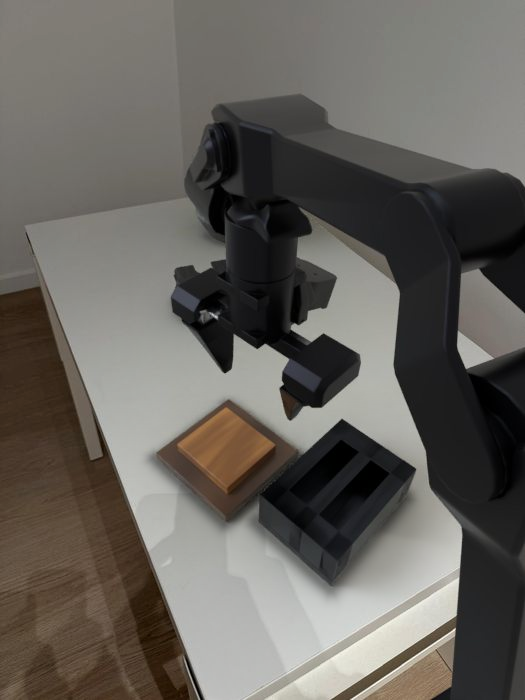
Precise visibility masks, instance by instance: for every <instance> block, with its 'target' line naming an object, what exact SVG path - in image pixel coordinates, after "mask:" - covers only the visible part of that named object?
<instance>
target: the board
mask: <svg viewBox="0 0 525 700" xmlns="http://www.w3.org/2000/svg"><path fill="white" fill-rule="evenodd" d="M226 407H227V408H228V409H229V410H231V411H232V412H233V413H235V414H236V415H237V416H238V417H240V418H241V419H242V420H244V421H245V422H246V423H248V424H249V425H250V426H252V427H253V428H254V429H256V430H257V431H258V432H259V433H261V434H262V435H263V436H265V437H266V438H267V439H269V440H270V441H271V442H273V443H274V444H275V445H276V452H275V453H274V454H273V455H272V456H270V457H269V458H268V459H267V460H266V461H265V462H264V463H263V464H261V465H260V466H259V467H258V468H257V469H256V470H255V471H254V472H252V473H251V474H250V475H249V476H248V477H247V478H246V479H244V480H243V481H242V482H241V483H240V484H239V485H238V486H237V487H235V488H234V489H233V490H232V491H231V492H230V493H229V494H227V493H226V492H224V491H223V490H222V489H221V488H220V487H219V486H218V485H216V484H215V483H214V482H213V481H212V480H211V479H210V478H208V477H207V476H206V475H205V474H204V473H203V472H202V471H201V470H199V469H198V468H197V467H196V466H195V465H194V464H193V463H191V462H190V461H189V460H188V459H187V458H186V457H185V456H184V455H182V454H181V453H180V452H179V451H178V445H177V444H178V443H179V442H181V441H182V440H183V439H185V438H186V437H187V436H189V435H190V434H191V433H193V432H194V431H195V430H197V429H198V428H199V427H201V426H202V425H203V424H205V423H206V422H207V421H209V420H210V419H211V418H213V417H214V416H215V415H217V414H218V413H219V412H220V411H222V410H223V409H224V408H226ZM155 454H156V459H157V460H158V461H159V462H160V463H161V464H162V465H163V466H164V467H166V468H167V469H168V470H169V471H170V472H171V473H172V475H174V476H175V477H176V478H177V479H178V480H179V481H180V482H181V483H183V484H184V485H185V486H186V487H187V488H188V489H189V490H190V491H191V492H193V494H195V495H196V497H198V498H199V499H200V500H201V501H202V502H203V503H204V504H205V505H206V506H208V507H209V508H210V510H212V511H213V512H214V513H215V514H216V515H217V516H218V517H219V518H221V519H222V520H223V521H224V522H225V523H228V521H229V520H231V518H233V517H234V516H235V515H236V514H237V513H238V512H239V511H240V510H241V509H243V507H244V506H245V505H247V504H248V503H249V502H250V501H251V500H252V499H253V498H254V497H256V495H257V494H259V493H260V492H261V491H262V490H263V489H264V488H265V487H266V486H267V485H268V484H269V483H271V482H273V481H274V479H275V478H277V476H279V474H280V473H282V472H283V471H285V470H286V469H287V467H288V466H289V465H290V464H292V462H294V460H296V459H298V456H299V455H298V454H299V450H298V449H296V448H295V447H294V446H292V445H291V444H289V443H288V442H287V441H285V440H284V439H283V438H281V437H280V436H279V435H278V434H277V433H275V432H274V431H272V430H271V429H269V428H268V427H267V426H265V425H264V424H263V423H261V422H260V421H258V420H257V419H256V418H255V417H254V416H252V415H250V414H249V413H248V412H247V411H246V410H244V409H243V408H242V407H240V406H239V405H237V404H236V403H234V402H233V401H232V400H231V399H226V400H225V401H223V402H222V403H221V404H220V405H219V406H217V407H216V408H214V409H213V410H212V411H210V412H209V413H208V414H206V415H205V416H204V417H202V418H201V419H199V420H198V421H196V422H195V423H194V424H193V425H191V426H190V427H189V428H187V429H186V430H184V431H183V432H182V433H181V434H179V435H178V436H177V437H175V438H174V439H173V440H171V441H170V442H169V443H167V444H165V446H163V447H162V448H160V449H159V450H158V451H156V452H155Z"/></svg>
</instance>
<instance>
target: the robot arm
mask: <svg viewBox="0 0 525 700" xmlns="http://www.w3.org/2000/svg"><path fill="white" fill-rule="evenodd" d="M210 113H211V117H212V120H213V122H211V123H207V124H205V126H204V128H203V132H202V136H201V138H200V143H199V146H198V147H197V149H198V152H197V154H196V156H195V158H194V160H193V162H192V161H191V163H190V164H189V166H188V169H187V171H186V174H185V178H184V179H183V184H184V185H183V186H184V191H185V193H186V196H187V198H188V199H189V201H190V202H191V203H192V204H193V206H194V207H196V208H197V209H198V211H199V212H200V213H201V214H202V216H203V217H204V218H205V219H206V221H207V222H208V223H209V225H210V226H211V227H212V228H213V230H214V231H215V232H216V233H219V234H221V235H224V236H225V242H224V245H225V259H226V271H224V272H222V273H220V272H218V271H217V270H215V269H213V268H212V267H209V268H208V269H206V270H203V271H202V272H199V273H200V274H198V275H196V276H194V277H192V278H190V279H189V280H187V281H185V282H183V283H181V284H179V285H177V286H176V285H175V287H176V288H175V287H174V289H173V291H172V293H171V295H170V301H171V302H170V303H171V310H172V313H173V314H174V315H176V316H177V317H179V318H180V319H181V323H182V324H183V326H185V327H186V328H187V329H188V330H189V332H191V333H192V335H193V336H194V337H195V339H196V340H197V341H198V342H199V343H200V345H201V346H202V347H203V348H204V350H205V351H206V352H207V354H208V356H210V358H211V360H212V361H213V362H214V363H215V365H216V366H217V367H218V368H219V370H220V372H222V373H223V374H227V373H229V372H230V371H231V370H232V369H233V363H234V347H235V346H234V343H235V341H234V339H235V336H236V337H237V338H239V339H240V340H242V341H244V342H245V343H246V344H248V345H250V346H251V347H253V348H254V349H256V350H259V349H260V348H262V347H263V346H264V345H265V346H268V347H269V348H271V349H272V350H274V351H276V352H277V353H279V354H280V355H282V356H283V357H285V358H286V359H288V361H287V363H286V365H285V366H284V368H283V369H282V371H281V382H282V385H281V386H279V388H278V389H279V394H280V398H281V402H282V403H281V404H282V407H283V411H284V414H285V416H286V419H287V420H288V421H290V422H291V421H293V420H294V419H296V418H297V416H298V415H299V414H300V412H301V411H302V409H304V407H310V408H311V409H323V408H324V407H325V406H326V405H327V404H328V403H329V402H330V401H332V399H334V398H335V397H336V396H338V394H340V393H341V392H342V391H343V390H344V389H346V388H347V386H349V385H350V384H351V383H352V382H353V381H354V380H356V379H357V378H358V377H359V375H360V369H361V365H362V360H361V354H360V353H358V352H357V351H355V350H354V349H352V348H350V347H348V345H347V346H346V345H345V344H344V343H341V342H340V341H338V340H336V339H335V338H333V337H331V336H329V335H328V334H326V333H321V334H320V335H319V336H317V337H316V338H315V339H314V340H312V341H311V340H309V339H308V338H306V337H305V336H303V335H301V334H299V333H298V332H296V331H294V330H293V329H292V326H293V325H296V326H300V325H302V324H303V323H305V322H306V321H308V316H309V312H310V311H314V310H319V309H322V310H325V309H327V308H328V306H329V303H330V300H331V297H332V295H333V291H334V288H335V286H336V283H337V280H338V276H337V275H336V274H334V273H333V272H330V271H328V270H326V269H324V268H322V267H320V266H318V265H317V264H315V263H312V262H310V261H308V260H305V259H302V258H300V257H298V246H299V245H298V244H299V238H302V237H306V236H310V235H311V234H312V233H313V227H312V224H311V221H310V219H309V217H308V216H307V215H306V214H305V213H304V212H303V211H302V210H304V211H305V212H307V213H309V214H310V215H313V216H314V217H315V218H317V219H319V220H321V221H323V222H324V223H326V224H328V225H330V226H332V227H333V228H335V229H336V230H339V231H340V232H342V233H344V234H345V235H347V236H349V237H350V238H352V239H354V240H356V241H357V242H359V243H362V244H363V245H364V246H366V247H368V248H370V249H371V250H373V251H374V252H377V253H378V254H380V255H382V256H384V257H385V260H386V262H387V265H388V267H389V270H390V272H391V275H392V277H393V280H394V282H395V284H396V286H397V289H398V292H399V300H398V309H397V319H396V332H395V341H394V342H395V344H394V352H393V353H394V354H393V364H392V365H393V371H394V376H395V378H396V380H397V383H398V385H399V388H400V391H401V393H402V395H403V398H404V401H405V403H406V406H407V409H408V411H409V412H410V416H411V418H412V421H413V423H414V426H415V428H416V431H417V434H418V436H419V438H420V441H421V443H422V446H423V449H424V451H425V458H426V468H427V477H428V485H429V489H430V491H432V493H433V494H434V495H435V496H436V497H437V499H438V500H439V502H440V503H441V504H443V506H444V507H445V508H446V509H447V510H448V512H449V513H450V514H451V516H452V517H453V518H454V519H455V521H456V522H457V523H458V524H459V525H460V527H461V548H460V562H459V577H458V591H457V602H456V603H457V604H456V618H455V629H454V630H455V631H454V644H453V656H452V657H453V658H452V669H451V670H452V671H451V672H452V673H451V685H450V686H449V687H448V688H446V689H445V690H443V691H442V692H439V693H438V694H437V695H435V696H433V697H432V698H430V699H429V700H525V346H524V347H521V348H518V349H516V350H513V351H511V352H508V353H505V354H503V355H500V356H498V357H494V358H492V359H489V360H487V361H483V362H480V363H478V364H475V365H473V366H470V367H467V368H466V366H465V363H464V361H463V359H462V356H461V354H460V352H459V348H458V341H459V340H458V338H459V335H458V334H459V320H460V301H461V286H462V285H461V283H462V274H466V273H469V272H472V271H476V270H479V271H480V272H481V274H482V275H483V277H485V279H487V280H488V281H489V282H490V283H491V284H492V285H493V286H494V287H495V288H497V289H498V290H499V291H500V292H501V293H502V295H504V296H505V297H506V298H507V299H508V300H510V302H511V303H513V304H514V305H515V306H516V307H517V308H518V309H519V310H520V311H521V312H522V313H523V314H525V185H524V183H523V182H522V180H521V179H519V178H517V177H516V176H514V175H512V174H511V173H509V172H502V171H500V170H498V169H496V168H491V167H485V168H471V167H467V166H465V165H461V164H457V163H454V162H450V161H447V160H443V159H441V158H437V157H433V156H430V155H427V154H423V153H421V152H417V151H413V150H411V149H407V148H403V147H400V146H396V145H395V144H390V143H387V142H383V141H381V140H376V139H373V138H370V137H366V136H363V135H359V134H356V133H352V132H350V131H346V130H344V129H340V128H337V127H335V126H333V125H332V124H331V123H329V112H328V110H327V109H326V108H324V106H321V105H320V104H318V103H317V102H316V101H314V100H313V99H311V98H309V97H308V96H306V95H305V94H302V93H294V94H293V93H292V94H286V95H278V96H277V95H275V96H268V97H261V98H252V99H245V100H237V101H230V102H229V101H228V102H222V103H221V102H219V103H216V104H215V105H213V108H212V109H211V112H210ZM301 209H302V210H301Z"/></svg>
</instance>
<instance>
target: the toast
mask: <svg viewBox="0 0 525 700" xmlns="http://www.w3.org/2000/svg"><path fill="white" fill-rule="evenodd" d="M177 445H178V451H179V452H180V453H181V454H182V455H184V456H185V457H186V458H187V459H188V460H189V461H190V462H191V463H193V464H194V465H195V466H196V467H197V468H198V469H199V470H201V471H202V472H203V473H204V474H205V475H206V476H207V477H208V478H210V479H211V480H212V481H213V482H214V483H215V484H216V485H218V486H219V487H220V488H221V489H222V490H223V491H224V492H226V493H227V494H229V493H230V492H231V491H232V490H233V489H234V488H235V487H237V486H238V485H239V484H240V483H241V482H242V481H243V480H244V479H246V478H247V477H248V476H249V475H250V474H251V473H252V472H254V471H255V470H256V469H257V468H258V467H259V466H260V465H261V464H263V463H264V462H265V461H266V460H267V459H268V458H269V457H270V456H272V455H273V454H274V453H275V452H276V445H275V444H274V443H273V442H271V441H270V440H269V439H267V438H266V437H265V436H263V435H262V434H261V433H259V432H258V431H257V430H256V429H254V428H253V427H252V426H250V425H249V424H248V423H246V422H245V421H244V420H242V419H241V418H240V417H238V416H237V415H236V414H235V413H233V412H232V411H231V410H229V409H228V408H227V407H226V408H224V409H223V410H222V411H220V412H219V413H218V414H217V415H215V416H214V417H213V418H211V419H210V420H209V421H207V422H206V423H205V424H203V425H202V426H201V427H199V428H198V429H197V430H195V431H194V432H193V433H191V434H190V435H189V436H187V437H186V438H185V439H183V440H182V441H181V442H179V443H178V444H177Z"/></svg>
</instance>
